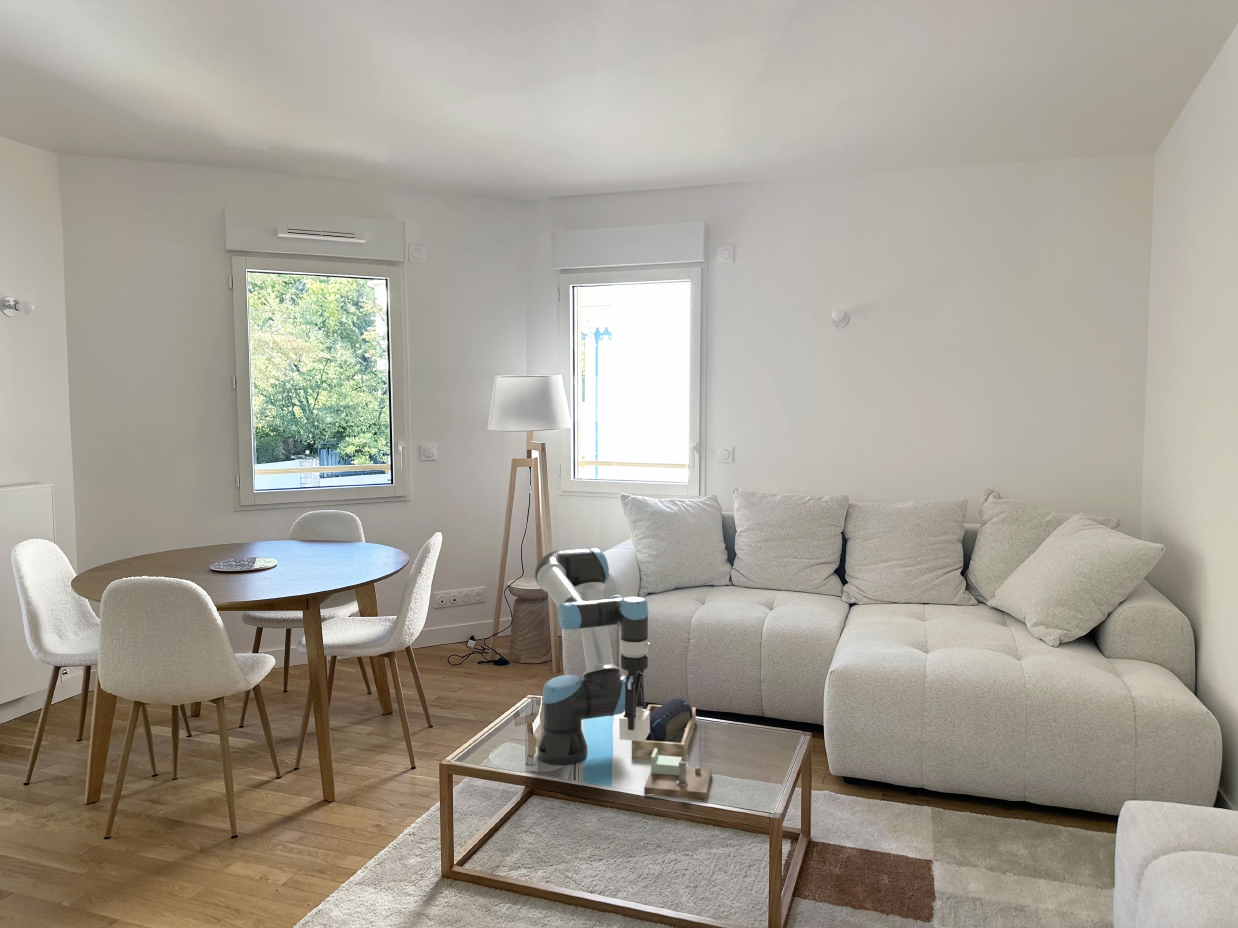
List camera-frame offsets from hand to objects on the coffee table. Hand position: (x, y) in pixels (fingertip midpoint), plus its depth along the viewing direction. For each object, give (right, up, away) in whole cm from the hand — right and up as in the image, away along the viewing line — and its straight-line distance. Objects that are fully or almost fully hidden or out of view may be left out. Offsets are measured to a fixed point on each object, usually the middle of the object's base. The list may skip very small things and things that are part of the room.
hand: (634, 734), depth 234 cm
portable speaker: (+10, -12, +35) cm, 38 cm away
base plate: (+12, -15, +2) cm, 19 cm away
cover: (+9, -12, +7) cm, 17 cm away
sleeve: (0, 0, 0) cm, 0 cm away
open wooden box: (+10, -12, +35) cm, 38 cm away
